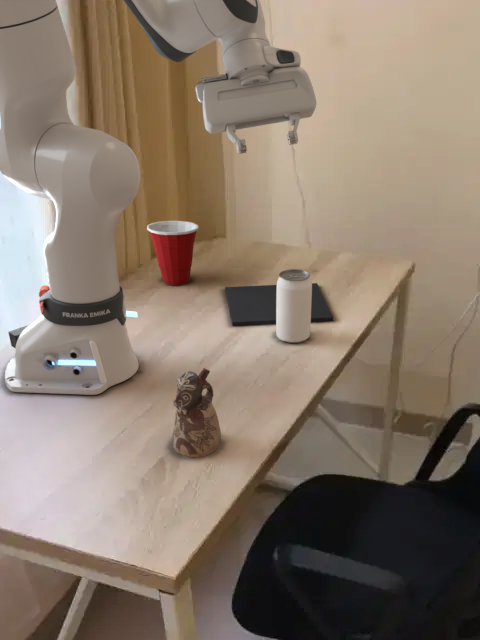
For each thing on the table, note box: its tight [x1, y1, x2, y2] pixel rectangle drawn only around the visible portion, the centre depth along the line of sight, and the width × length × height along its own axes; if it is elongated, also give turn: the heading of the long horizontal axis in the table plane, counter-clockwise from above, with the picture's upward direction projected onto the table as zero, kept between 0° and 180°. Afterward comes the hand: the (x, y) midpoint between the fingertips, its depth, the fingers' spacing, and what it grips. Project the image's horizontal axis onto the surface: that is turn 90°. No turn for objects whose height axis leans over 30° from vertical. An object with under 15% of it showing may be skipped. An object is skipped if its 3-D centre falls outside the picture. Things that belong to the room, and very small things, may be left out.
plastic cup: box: [146, 220, 199, 286], centre depth 160 cm, size 11×11×12 cm
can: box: [275, 268, 313, 344], centre depth 138 cm, size 6×6×12 cm
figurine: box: [171, 367, 222, 458], centre depth 108 cm, size 7×7×12 cm
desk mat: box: [224, 282, 334, 327], centre depth 153 cm, size 20×18×1 cm
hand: (268, 147), depth 133 cm, fingers open, 8 cm apart
